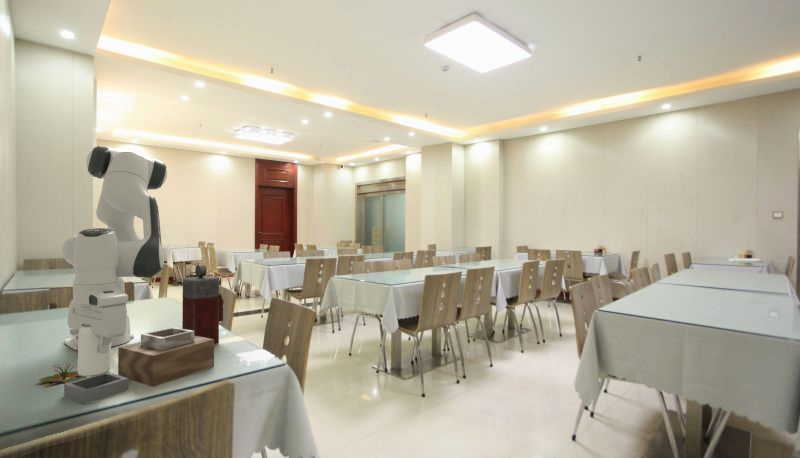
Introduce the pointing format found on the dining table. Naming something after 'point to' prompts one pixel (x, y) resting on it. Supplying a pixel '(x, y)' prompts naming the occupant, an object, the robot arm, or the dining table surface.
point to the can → (91, 354)
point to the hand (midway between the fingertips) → (95, 350)
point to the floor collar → (96, 387)
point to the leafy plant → (61, 376)
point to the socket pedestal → (165, 356)
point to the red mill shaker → (202, 305)
